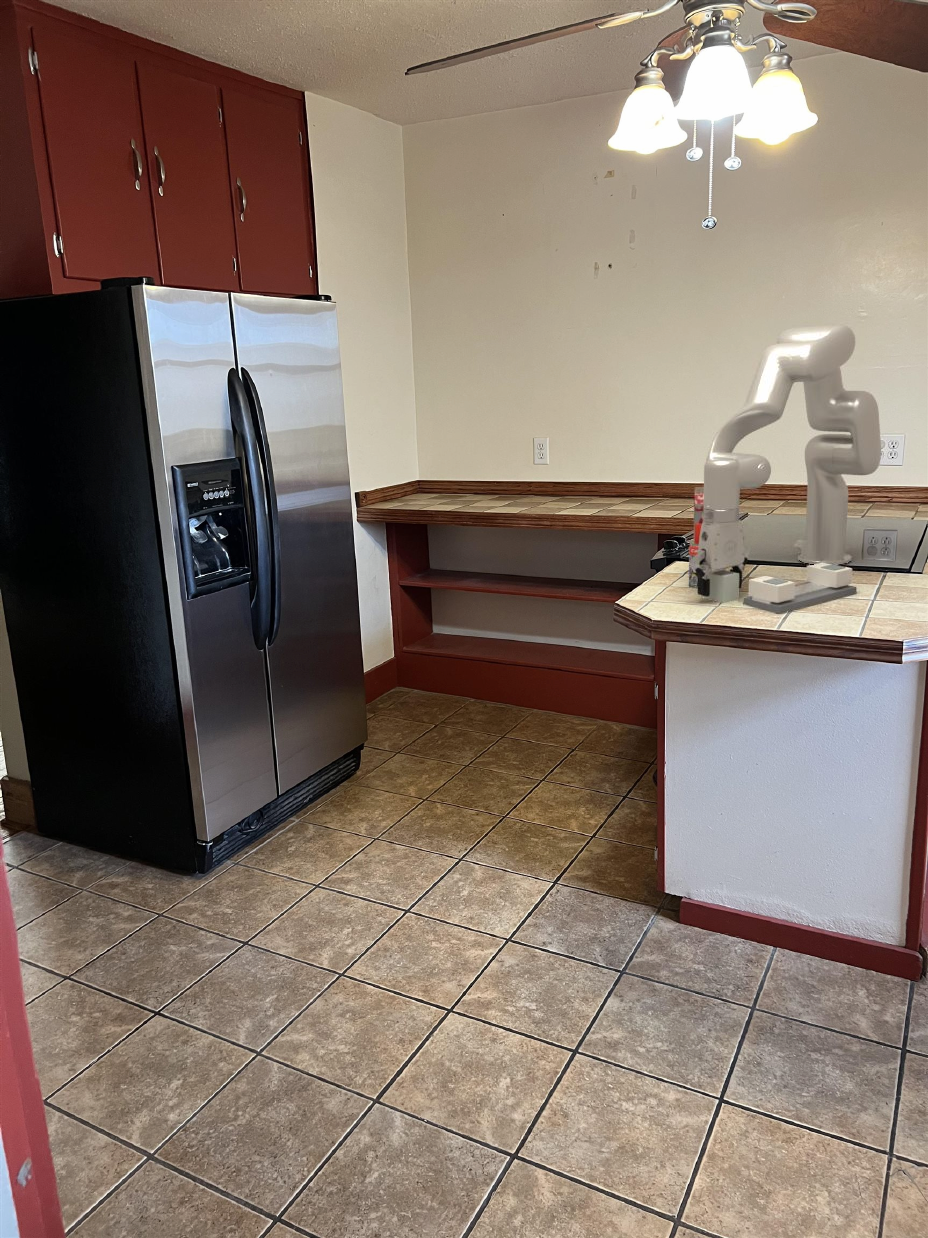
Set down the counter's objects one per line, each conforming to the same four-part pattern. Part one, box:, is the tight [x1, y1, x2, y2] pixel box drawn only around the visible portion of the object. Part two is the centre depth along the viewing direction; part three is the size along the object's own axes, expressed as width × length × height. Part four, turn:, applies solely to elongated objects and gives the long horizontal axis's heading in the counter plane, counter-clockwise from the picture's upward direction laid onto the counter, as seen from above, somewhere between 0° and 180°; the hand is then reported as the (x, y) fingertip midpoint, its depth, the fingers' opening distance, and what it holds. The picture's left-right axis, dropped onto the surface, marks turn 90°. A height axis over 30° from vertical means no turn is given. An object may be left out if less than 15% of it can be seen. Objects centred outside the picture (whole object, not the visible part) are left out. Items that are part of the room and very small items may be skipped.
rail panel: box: [742, 581, 857, 615], centre depth 200 cm, size 10×24×2 cm, turn 120°
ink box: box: [688, 524, 727, 589], centre depth 213 cm, size 4×8×15 cm, turn 56°
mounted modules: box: [748, 563, 853, 603], centre depth 199 cm, size 8×23×4 cm, turn 120°
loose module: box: [700, 569, 740, 604], centre depth 204 cm, size 7×4×6 cm, turn 30°
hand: (719, 591), depth 205 cm, fingers open, 9 cm apart
